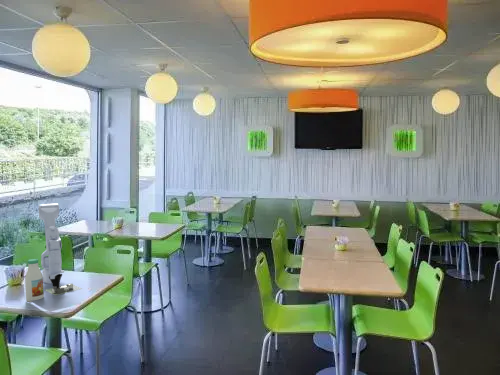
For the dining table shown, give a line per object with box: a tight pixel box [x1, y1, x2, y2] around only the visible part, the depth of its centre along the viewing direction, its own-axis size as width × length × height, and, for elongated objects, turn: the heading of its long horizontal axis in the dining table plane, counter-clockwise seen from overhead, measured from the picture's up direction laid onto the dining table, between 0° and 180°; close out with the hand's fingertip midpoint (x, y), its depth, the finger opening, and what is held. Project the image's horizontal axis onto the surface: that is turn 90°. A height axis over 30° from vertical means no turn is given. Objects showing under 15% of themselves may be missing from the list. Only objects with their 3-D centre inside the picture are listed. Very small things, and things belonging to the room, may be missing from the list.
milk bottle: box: [24, 258, 45, 303], centre depth 210 cm, size 8×8×20 cm
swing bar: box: [52, 283, 74, 294], centre depth 220 cm, size 10×3×3 cm, turn 136°
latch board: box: [44, 284, 83, 296], centre depth 224 cm, size 13×14×4 cm
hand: (56, 289), depth 220 cm, fingers closed
